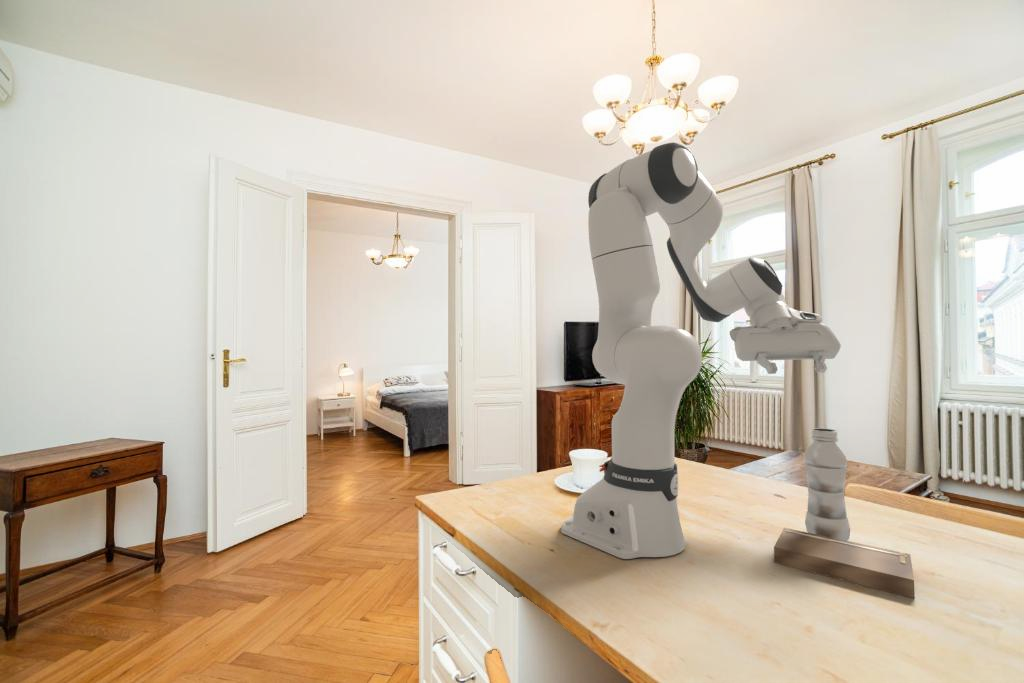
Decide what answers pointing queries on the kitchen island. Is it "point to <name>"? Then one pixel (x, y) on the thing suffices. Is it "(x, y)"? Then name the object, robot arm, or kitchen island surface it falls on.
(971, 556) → the kitchen island surface
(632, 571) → the kitchen island surface
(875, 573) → the walnut board
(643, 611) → the kitchen island surface
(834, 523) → the plastic bottle
